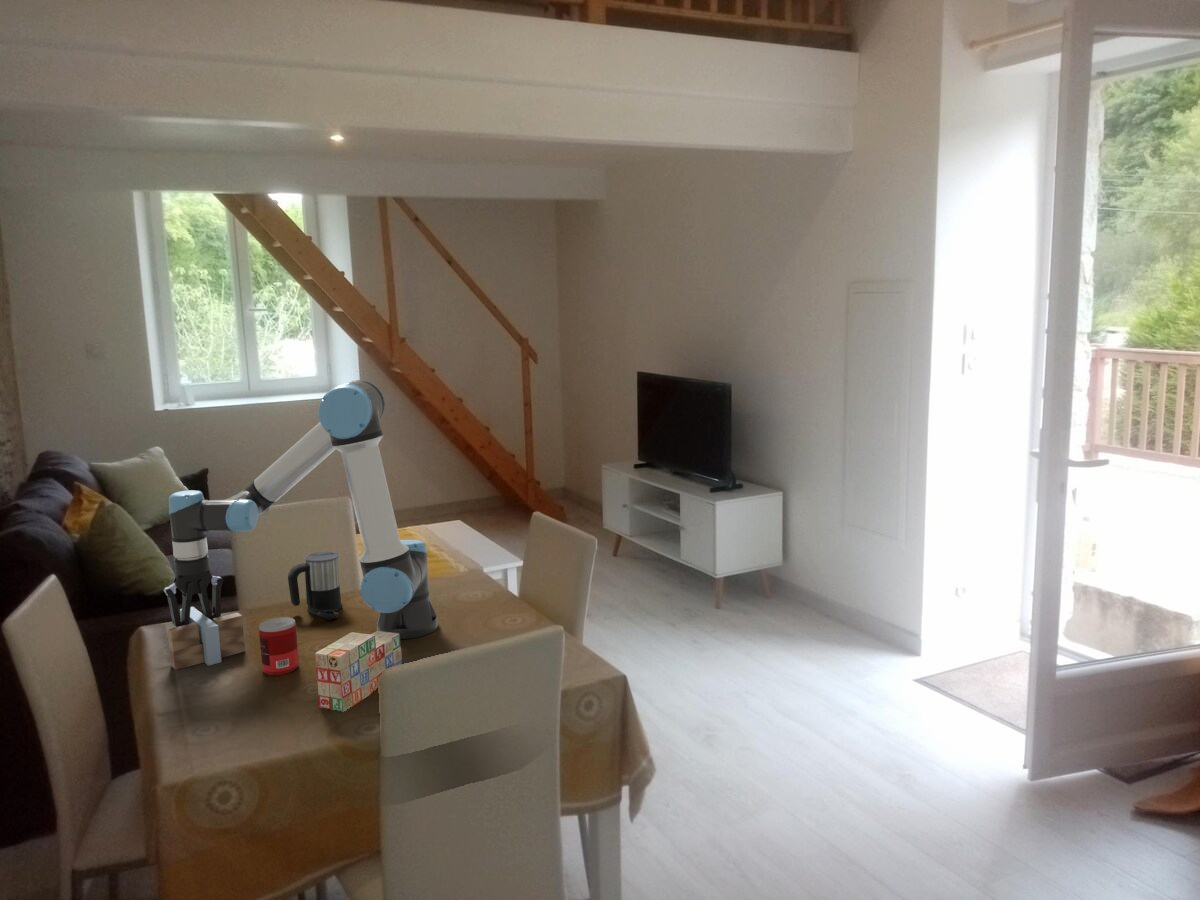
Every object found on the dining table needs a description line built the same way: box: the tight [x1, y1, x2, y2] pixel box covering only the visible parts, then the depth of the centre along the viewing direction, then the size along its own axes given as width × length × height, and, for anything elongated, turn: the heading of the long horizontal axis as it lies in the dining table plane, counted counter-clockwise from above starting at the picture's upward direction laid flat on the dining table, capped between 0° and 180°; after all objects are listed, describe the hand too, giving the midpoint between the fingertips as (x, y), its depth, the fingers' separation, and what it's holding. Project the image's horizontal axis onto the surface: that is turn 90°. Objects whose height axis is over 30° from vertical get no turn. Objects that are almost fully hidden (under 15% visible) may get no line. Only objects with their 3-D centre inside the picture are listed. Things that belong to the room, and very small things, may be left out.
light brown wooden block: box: [167, 612, 246, 671], centre depth 213 cm, size 16×3×9 cm, turn 132°
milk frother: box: [287, 551, 343, 621], centre depth 242 cm, size 14×16×15 cm
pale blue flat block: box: [179, 605, 222, 666], centre depth 216 cm, size 18×3×9 cm, turn 42°
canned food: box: [258, 616, 299, 676], centre depth 206 cm, size 8×8×11 cm
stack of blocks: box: [314, 630, 403, 713], centre depth 194 cm, size 21×6×12 cm, turn 158°
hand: (199, 649), depth 218 cm, fingers closed on pale blue flat block, 3 cm apart
